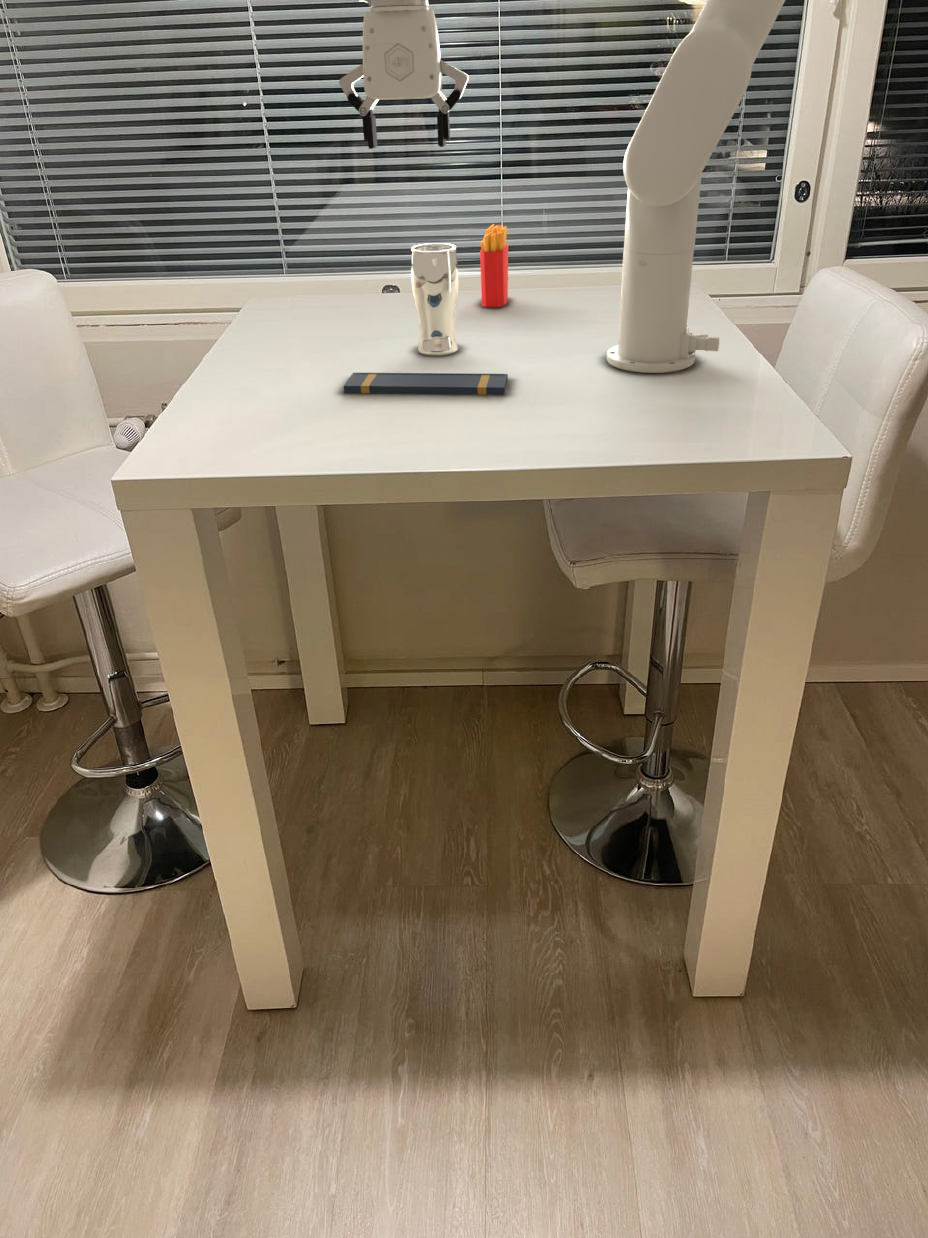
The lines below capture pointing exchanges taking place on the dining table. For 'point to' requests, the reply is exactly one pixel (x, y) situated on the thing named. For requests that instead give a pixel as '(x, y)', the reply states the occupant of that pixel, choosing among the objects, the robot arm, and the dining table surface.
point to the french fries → (494, 267)
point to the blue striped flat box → (427, 383)
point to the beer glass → (435, 296)
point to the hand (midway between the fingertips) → (407, 146)
